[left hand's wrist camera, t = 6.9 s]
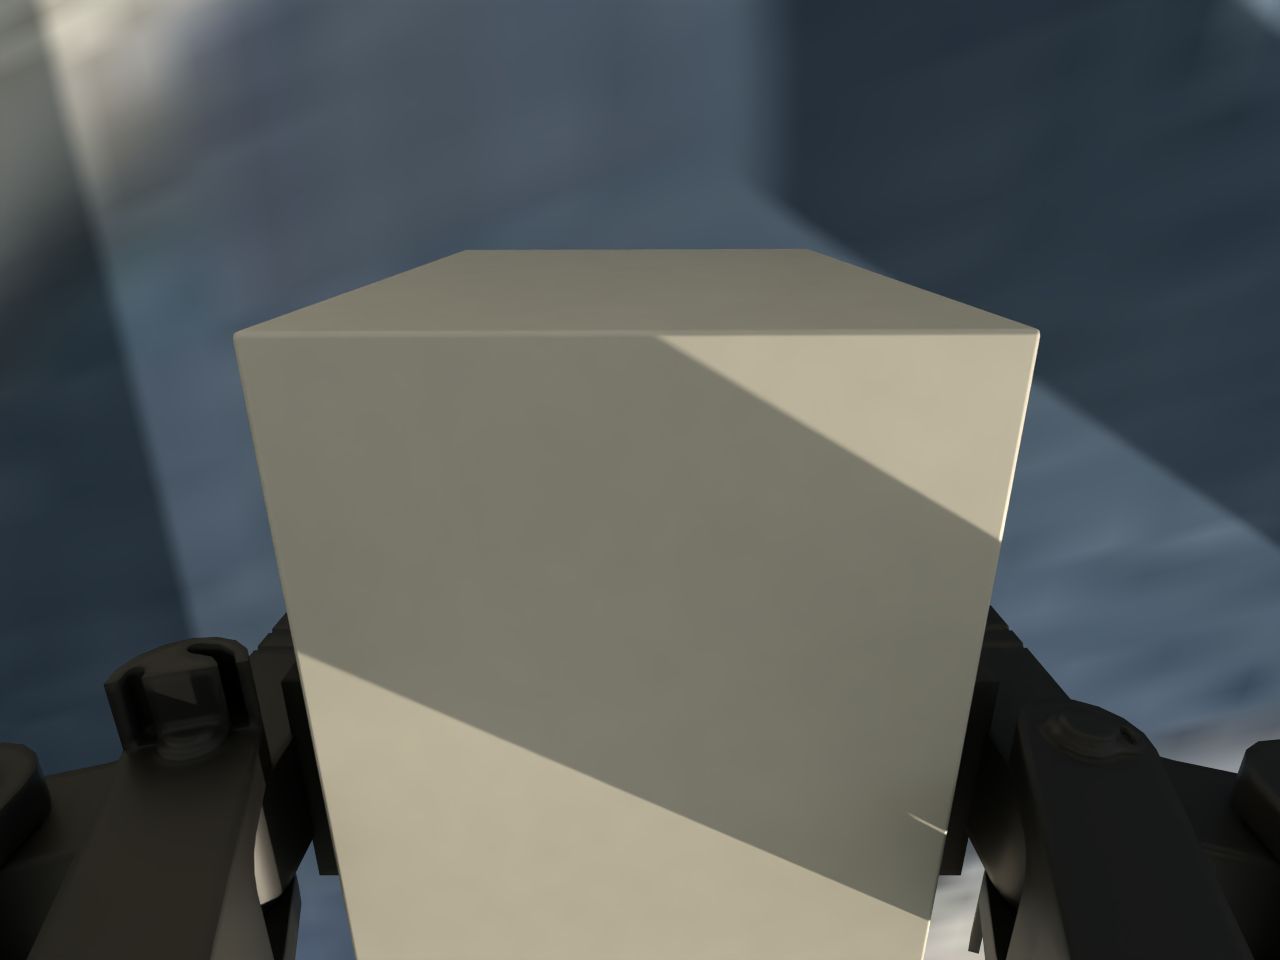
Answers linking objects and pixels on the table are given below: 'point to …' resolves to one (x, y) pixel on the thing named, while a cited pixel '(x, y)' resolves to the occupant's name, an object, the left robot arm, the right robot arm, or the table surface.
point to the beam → (637, 594)
